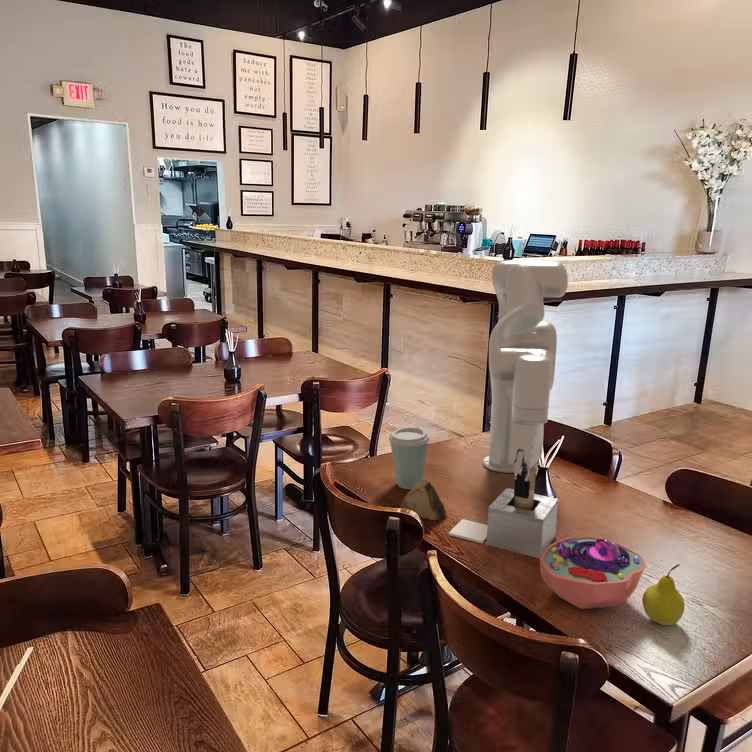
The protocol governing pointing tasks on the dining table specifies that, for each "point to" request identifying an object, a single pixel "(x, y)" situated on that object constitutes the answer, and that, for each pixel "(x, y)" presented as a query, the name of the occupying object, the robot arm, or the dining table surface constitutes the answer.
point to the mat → (470, 531)
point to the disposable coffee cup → (409, 455)
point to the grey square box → (522, 524)
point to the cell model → (591, 571)
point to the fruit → (663, 601)
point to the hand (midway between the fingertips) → (524, 492)
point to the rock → (424, 501)
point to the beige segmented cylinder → (528, 502)
